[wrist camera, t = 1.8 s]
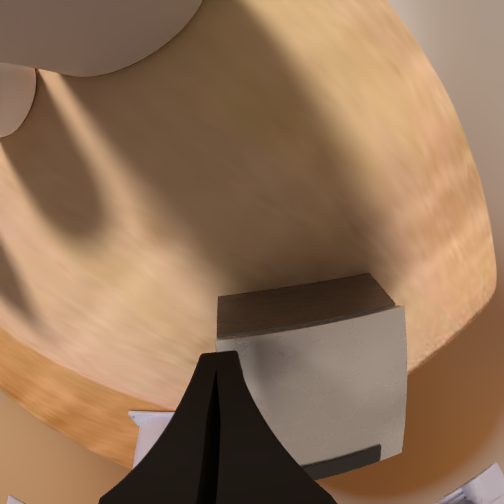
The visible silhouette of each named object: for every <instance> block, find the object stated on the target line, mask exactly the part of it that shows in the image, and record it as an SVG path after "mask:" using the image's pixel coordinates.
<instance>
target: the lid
mask: <svg viewBox="0 0 504 504" xmlns="http://www.w3.org/2000/svg"><path fill="white" fill-rule="evenodd" d="M215 346H216V352H222V351H231V350H235V351H237V352H238V355H239V359H240V363H241V367H242V372H243V376H244V380H245V382H246V385H247V387H248V389H249V391H250V393H251V396H252V398H253V400H254V402H255V404H256V405H257V407H258V409H259V411H260V413H261V414H262V416H263V418H264V419H265V421H266V422H267V424H268V426H269V427H270V429H271V430H272V432H273V433H274V434H275V436H276V437H277V439H278V440H279V441H280V443H281V444H282V445H283V447H284V448H285V449H286V450H287V451H288V453H289V454H290V455H291V456H292V457H293V459H294V460H295V461H296V462H297V463H298V464H299V465H300V467H301V468H302V469H303V470H304V471H305V472H306V473H307V474H308V475H309V476H310V477H311V478H312V479H313V480H318V479H322V478H326V477H330V476H334V475H338V474H341V473H345V472H348V471H352V470H355V469H358V468H361V467H364V466H367V465H370V464H373V463H376V462H378V461H381V460H384V459H386V458H389V457H391V456H394V455H396V454H398V453H401V452H402V445H403V436H404V427H405V414H406V396H407V343H406V324H405V311H404V306H400V305H395V306H391V307H387V308H383V309H379V310H375V311H371V312H367V313H362V314H358V315H353V316H349V317H344V318H339V319H334V320H329V321H324V322H319V323H314V324H308V325H303V326H297V327H291V328H285V329H279V330H272V331H266V332H259V333H251V334H244V335H236V336H227V337H218V338H216V340H215Z"/></svg>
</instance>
